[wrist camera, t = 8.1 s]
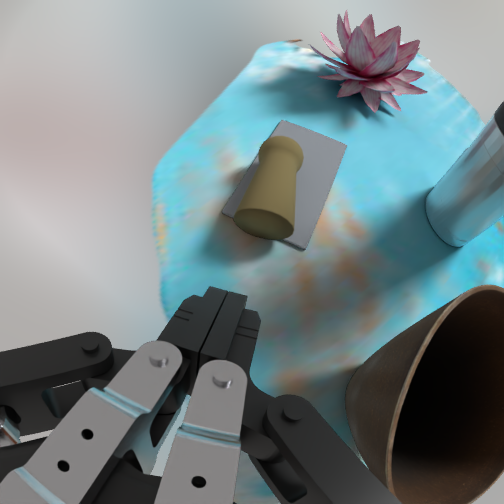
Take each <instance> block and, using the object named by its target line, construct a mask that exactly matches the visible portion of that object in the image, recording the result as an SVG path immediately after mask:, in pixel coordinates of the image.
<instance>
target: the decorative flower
mask: <svg viewBox="0 0 504 504" xmlns="http://www.w3.org/2000/svg"><path fill="white" fill-rule="evenodd" d="M320 33H321V35H322V38H323V40H324V41H325V43H326V44H327V46H328V47H329V48H330V50H331V51H332V52H333V53H335V54H336V55H337V56H338V57H339V58H340V59H341V60H342V61H343V62H345V63H346V64H348V65H346V64H344V63H341V62H338V61H336V60H333V59H331V58H329V57H327V56H325V55H323V54H321V53H320V52H319V51H317V50H316V49H315V48H313V47H312V46H311V48H312V49H313V50H314V51H315V52H316V53H317V54H319V55H320V56H322V57H323V58H324V59H326V60H327V61H329V62H331V63H333V64H335V65H337V66H339V67H340V68H338V67H334V66H331V65H328V64H326V65H327V66H328V67H330V68H332V69H335V70H336V72H338V73H339V74H334V75H328V76H317V77H320V78H323V79H327V80H346V79H347V80H346V81H345V82H343V83H342V84H340V85H343V86H342V87H341V89H340V90H339V92H338V95H337V97H345V96H350V95H353V94H355V93H358V92H361V94H362V96H363V99H364V101H365V103H366V104H367V105H368V106H369V107H370V108H371V109H372V111H373V112H374V113H375V112H376V111H377V110H378V107H379V104H380V100H383V101H385V102H386V103H388V104H389V105H391V106H392V107H394V108H395V109H397V110H399V111H401V108H400V107H399V105H398V103H397V102H396V100H395V98H394V97H393V95H392V94H394V95H398V96H400V95H402V94H423V93H427V91H425V90H422V89H420V88H418V87H416V86H414V85H412V84H409V83H410V82H413V81H415V80H417V79H419V78H420V77H422V76H423V75H424V73H422V72H418V71H413V70H408V69H405V68H407V66H408V65H409V63H410V62H411V61H412V60H413V59H414V58H415V56H416V54H417V52H418V50H419V48H418V46H419V43H420V41H419V40H415V41H412V42H409V43H406V44H403V45H400V35H401V27H400V26H397V27H394V28H392V29H389V30H387V31H386V32H384V33H382V34H380V35H379V36H377V37H376V38H375V30H374V23H373V18H372V14H371V15H369V16H368V17H367V18H366V19H365V20H364V21H363V22H362V24H361V25H360V26H357V27H356V28H355V29H354V31H353V33H351V29H350V26H349V21H348V15H347V10H346V12H345V16H344V23H343V21H342V19H341V16H340V14H338V20H337V33H338V37H339V41H340V44H341V47H342V49H343V51H344V53H343V52H342V51H341V50H340V49H339V48H337V47H336V46H335V45H334V44H333V43H332V42H331V41H329V39H328V38H327V37H326V36H325V35H324V34H323V33H322V32H320ZM340 85H339V86H340Z"/></svg>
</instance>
